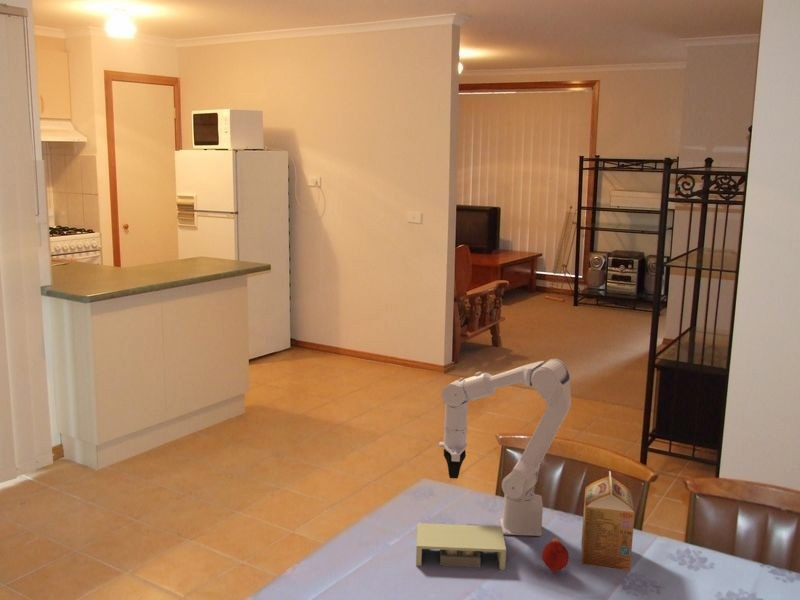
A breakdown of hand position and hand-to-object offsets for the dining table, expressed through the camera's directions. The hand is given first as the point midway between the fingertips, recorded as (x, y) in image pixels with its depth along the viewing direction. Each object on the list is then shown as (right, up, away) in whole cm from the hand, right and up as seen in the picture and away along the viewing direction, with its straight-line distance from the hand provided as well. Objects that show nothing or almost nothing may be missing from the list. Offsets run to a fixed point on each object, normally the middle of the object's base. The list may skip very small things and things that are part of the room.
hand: (453, 477), depth 198 cm
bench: (0, -13, -20) cm, 24 cm away
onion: (+21, -15, -26) cm, 37 cm away
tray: (0, -14, -20) cm, 24 cm away
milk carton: (+34, -14, -19) cm, 41 cm away
